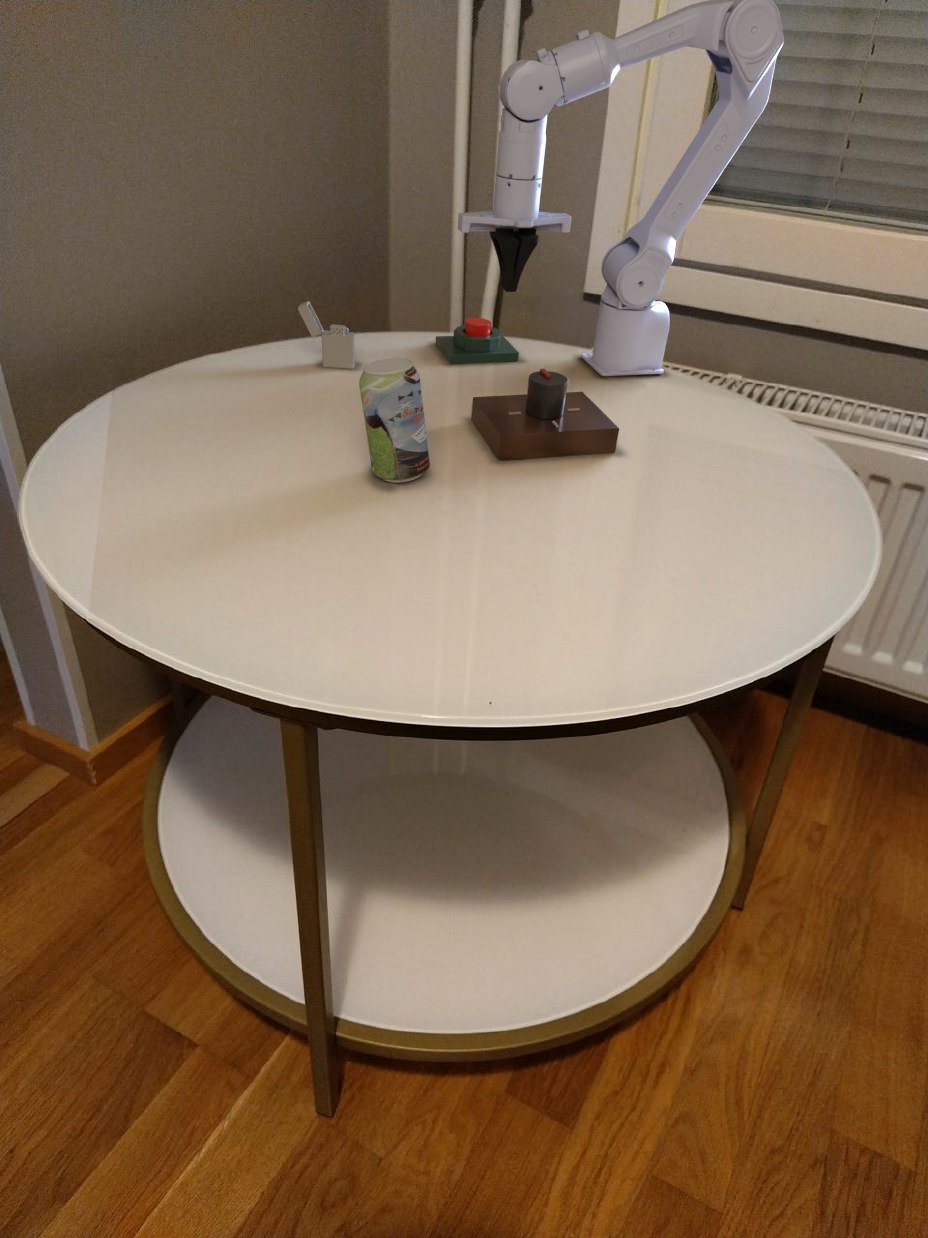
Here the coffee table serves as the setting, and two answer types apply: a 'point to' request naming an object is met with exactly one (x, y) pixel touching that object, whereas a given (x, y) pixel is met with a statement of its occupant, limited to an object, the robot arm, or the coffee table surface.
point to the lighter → (331, 340)
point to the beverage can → (394, 419)
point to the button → (477, 327)
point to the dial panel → (543, 428)
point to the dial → (546, 394)
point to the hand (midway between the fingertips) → (509, 289)
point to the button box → (476, 347)
